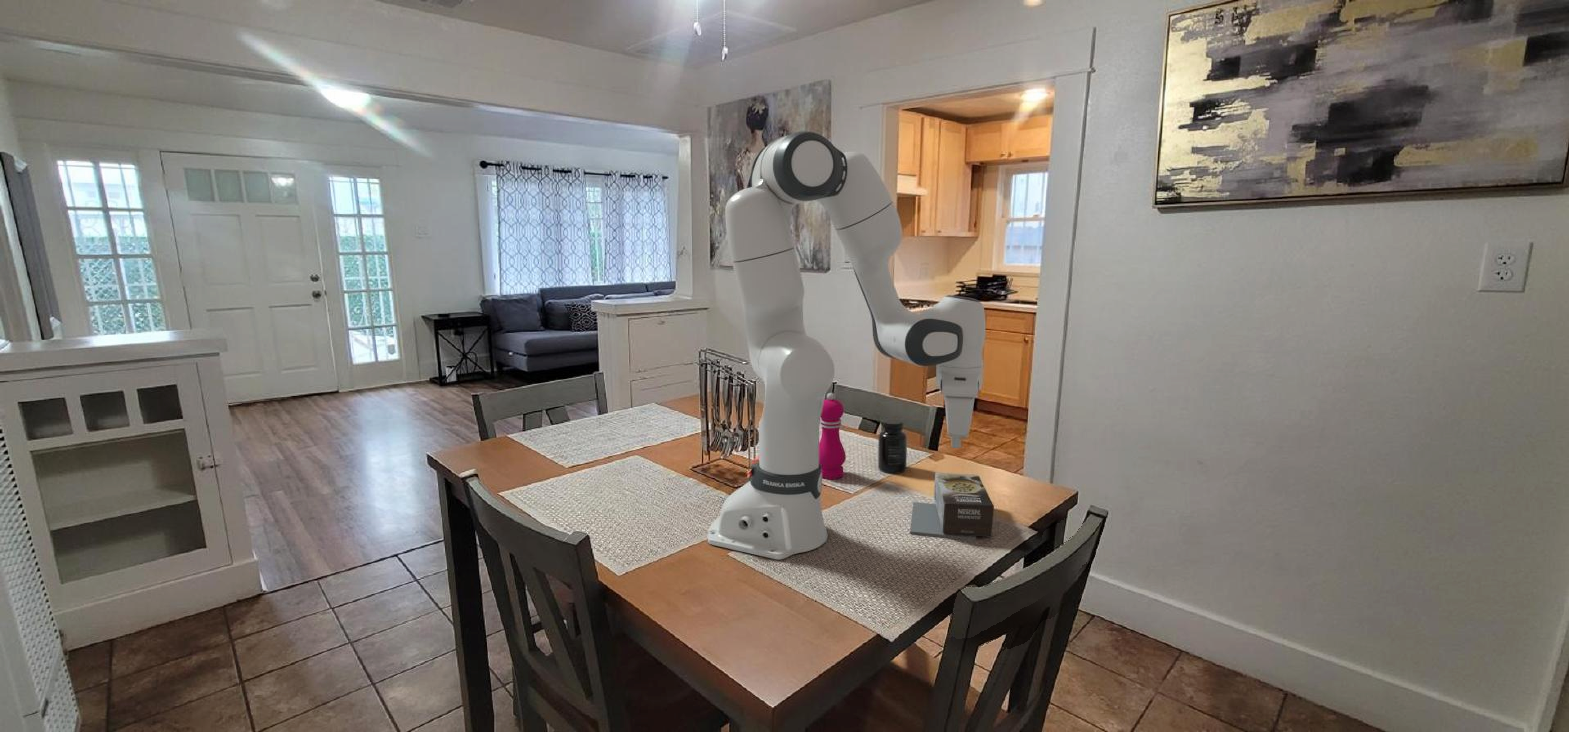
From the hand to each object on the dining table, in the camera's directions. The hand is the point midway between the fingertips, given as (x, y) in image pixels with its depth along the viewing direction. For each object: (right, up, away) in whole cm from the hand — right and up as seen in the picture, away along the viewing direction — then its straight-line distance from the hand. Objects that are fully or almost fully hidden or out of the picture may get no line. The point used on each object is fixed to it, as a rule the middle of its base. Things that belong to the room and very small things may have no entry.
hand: (955, 445), depth 125 cm
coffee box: (+2, -9, +6) cm, 11 cm away
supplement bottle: (-8, -9, +27) cm, 30 cm away
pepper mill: (-23, -10, +24) cm, 35 cm away
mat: (-3, -15, -2) cm, 15 cm away
